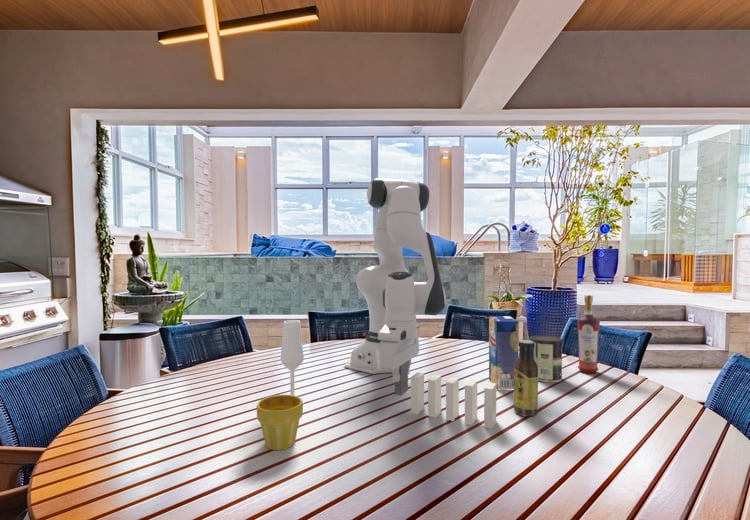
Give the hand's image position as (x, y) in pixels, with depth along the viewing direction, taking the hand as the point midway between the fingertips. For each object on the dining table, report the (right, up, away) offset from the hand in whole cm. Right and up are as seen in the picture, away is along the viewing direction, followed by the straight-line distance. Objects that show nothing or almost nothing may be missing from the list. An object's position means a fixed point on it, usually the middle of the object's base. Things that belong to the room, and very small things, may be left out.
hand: (401, 378), depth 118 cm
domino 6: (+22, -9, -11) cm, 26 cm away
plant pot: (-29, -9, -22) cm, 38 cm away
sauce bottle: (+34, -9, -4) cm, 35 cm away
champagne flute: (-32, -9, +4) cm, 33 cm away
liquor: (+71, -8, +34) cm, 79 cm away
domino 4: (+13, -9, -7) cm, 17 cm away
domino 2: (+4, -9, -2) cm, 10 cm away
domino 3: (+9, -9, -4) cm, 13 cm away
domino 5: (+18, -9, -9) cm, 22 cm away
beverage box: (+35, -8, +20) cm, 41 cm away
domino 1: (0, -4, 0) cm, 4 cm away
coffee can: (+52, -8, +27) cm, 59 cm away
